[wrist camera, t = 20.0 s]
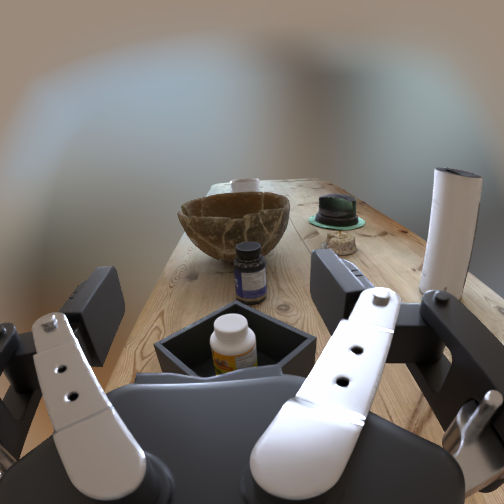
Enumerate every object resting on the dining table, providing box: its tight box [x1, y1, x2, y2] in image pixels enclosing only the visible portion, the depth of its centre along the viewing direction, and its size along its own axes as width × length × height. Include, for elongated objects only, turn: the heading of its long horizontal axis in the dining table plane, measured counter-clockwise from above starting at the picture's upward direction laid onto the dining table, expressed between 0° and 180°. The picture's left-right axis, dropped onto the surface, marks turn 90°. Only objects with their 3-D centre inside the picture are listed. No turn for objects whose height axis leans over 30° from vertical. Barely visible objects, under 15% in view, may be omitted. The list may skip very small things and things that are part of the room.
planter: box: [231, 178, 260, 193], centre depth 130 cm, size 12×12×11 cm
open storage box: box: [154, 300, 317, 378], centre depth 38 cm, size 15×15×8 cm
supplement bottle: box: [210, 314, 258, 375], centre depth 37 cm, size 6×6×10 cm
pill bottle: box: [233, 242, 267, 304], centre depth 58 cm, size 6×6×11 cm
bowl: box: [178, 191, 290, 262], centre depth 76 cm, size 28×27×15 cm
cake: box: [321, 230, 356, 255], centre depth 80 cm, size 10×10×5 cm
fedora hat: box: [309, 194, 365, 230], centre depth 103 cm, size 15×19×20 cm
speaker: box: [419, 168, 483, 300], centre depth 51 cm, size 11×10×26 cm
